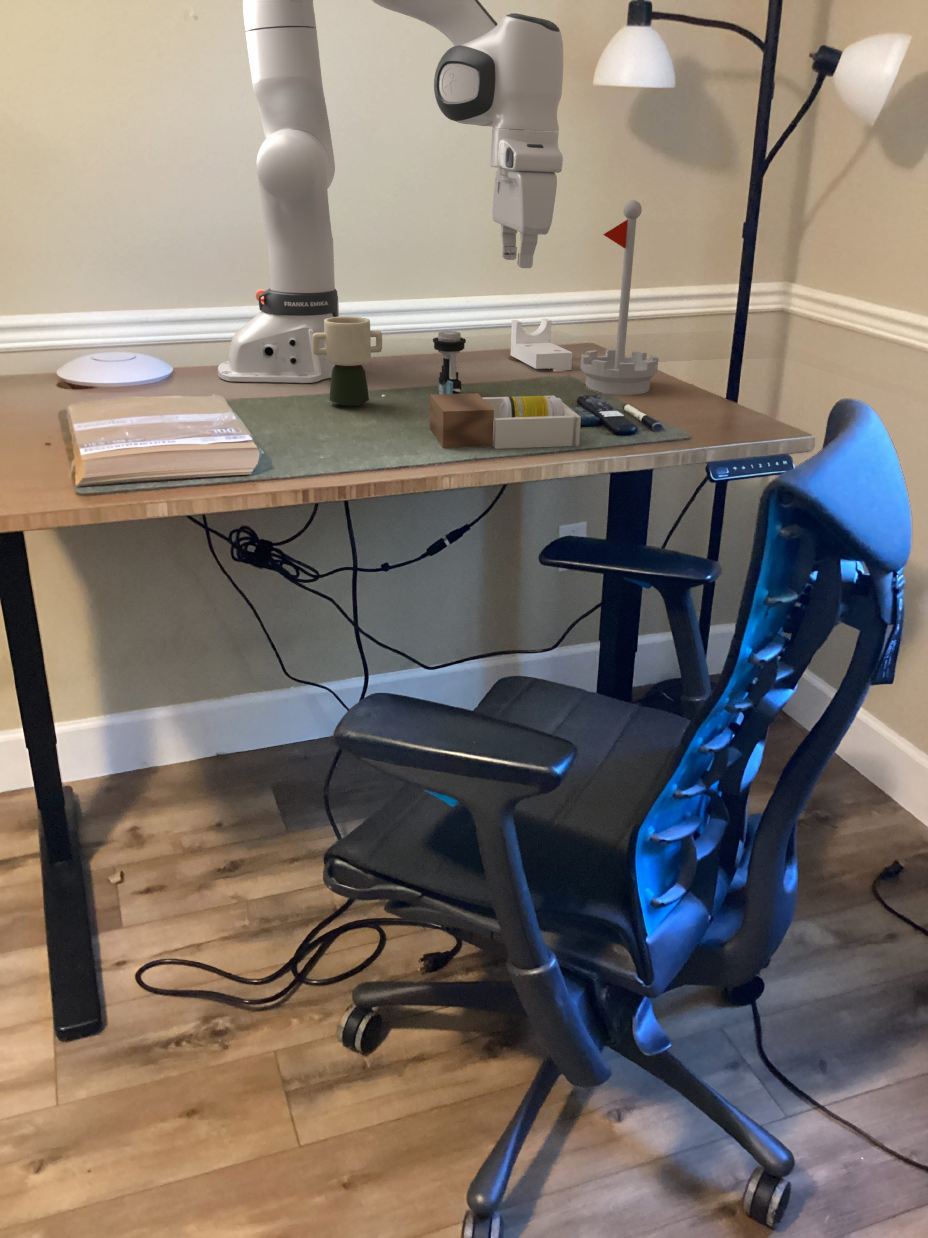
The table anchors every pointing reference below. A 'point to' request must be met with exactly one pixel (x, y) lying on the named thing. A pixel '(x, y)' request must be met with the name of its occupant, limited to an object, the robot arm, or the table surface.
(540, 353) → the bracket
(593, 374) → the flag stand
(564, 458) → the table surface
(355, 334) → the cream and green trophy
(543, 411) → the supplement bottle
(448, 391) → the push button
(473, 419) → the walnut step
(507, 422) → the grey tray
